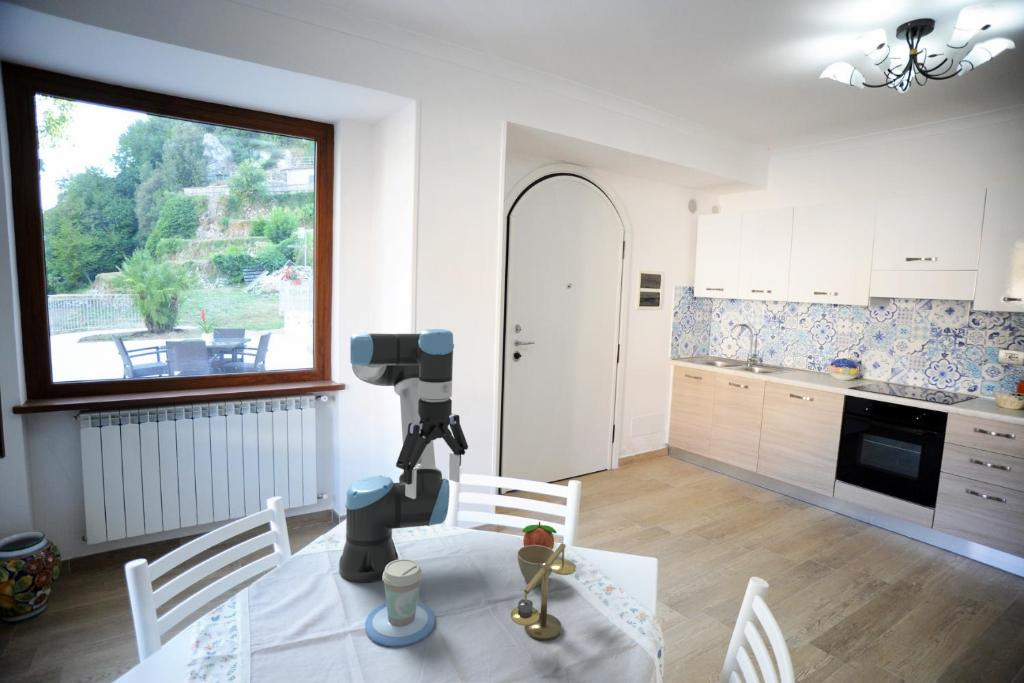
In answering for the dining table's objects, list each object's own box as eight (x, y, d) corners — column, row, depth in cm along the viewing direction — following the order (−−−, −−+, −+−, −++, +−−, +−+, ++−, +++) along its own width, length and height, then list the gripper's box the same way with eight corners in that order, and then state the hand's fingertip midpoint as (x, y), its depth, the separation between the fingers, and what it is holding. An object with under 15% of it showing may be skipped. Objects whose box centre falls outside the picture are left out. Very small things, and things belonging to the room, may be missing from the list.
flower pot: (552, 593, 138) (553, 566, 137) (512, 587, 140) (513, 560, 139) (557, 573, 147) (558, 547, 147) (520, 567, 149) (521, 542, 148)
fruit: (523, 547, 161) (524, 514, 160) (556, 550, 159) (558, 517, 158) (519, 562, 152) (521, 527, 151) (554, 565, 151) (556, 530, 150)
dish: (350, 628, 122) (350, 622, 121) (401, 597, 134) (401, 592, 134) (399, 656, 113) (399, 651, 113) (448, 620, 125) (448, 615, 125)
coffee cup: (387, 634, 118) (388, 581, 117) (377, 612, 125) (378, 562, 124) (426, 624, 122) (427, 572, 120) (414, 603, 129) (415, 554, 128)
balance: (500, 647, 117) (502, 570, 115) (551, 600, 135) (555, 533, 133) (532, 663, 113) (535, 584, 111) (581, 612, 130) (585, 543, 128)
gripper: (403, 410, 114) (401, 509, 116) (484, 392, 133) (481, 478, 136) (379, 404, 118) (379, 499, 121) (461, 387, 138) (459, 470, 141)
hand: (433, 488), depth 128 cm, fingers open, 13 cm apart
